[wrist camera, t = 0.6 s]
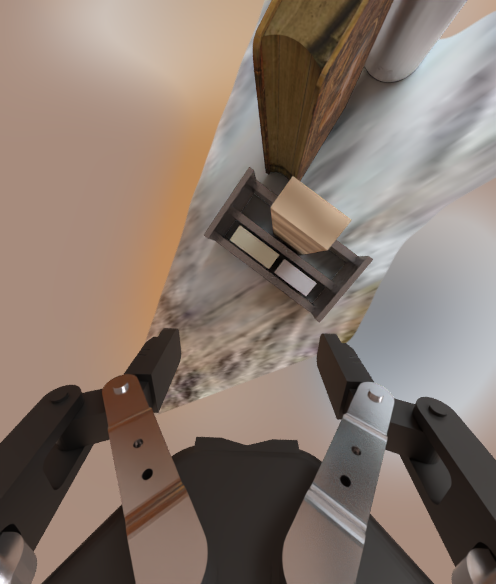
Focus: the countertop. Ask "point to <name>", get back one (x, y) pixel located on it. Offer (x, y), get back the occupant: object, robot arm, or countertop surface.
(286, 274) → the pale grey block
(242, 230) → the sage offcut
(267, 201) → the rack
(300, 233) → the birch board
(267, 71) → the book
